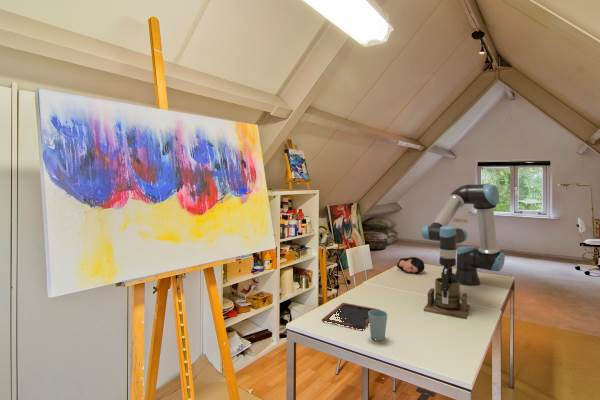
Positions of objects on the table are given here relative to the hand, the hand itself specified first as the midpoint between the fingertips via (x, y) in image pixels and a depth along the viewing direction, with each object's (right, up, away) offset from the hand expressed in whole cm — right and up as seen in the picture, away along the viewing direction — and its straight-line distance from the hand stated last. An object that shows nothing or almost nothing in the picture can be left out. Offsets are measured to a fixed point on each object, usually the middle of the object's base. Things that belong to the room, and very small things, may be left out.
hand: (447, 299), depth 166 cm
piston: (0, -2, 0) cm, 2 cm away
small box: (+10, -4, +20) cm, 23 cm away
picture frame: (-50, -6, -8) cm, 51 cm away
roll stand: (0, -5, 0) cm, 5 cm away
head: (+5, -2, +71) cm, 71 cm away
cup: (-43, -7, -31) cm, 53 cm away
